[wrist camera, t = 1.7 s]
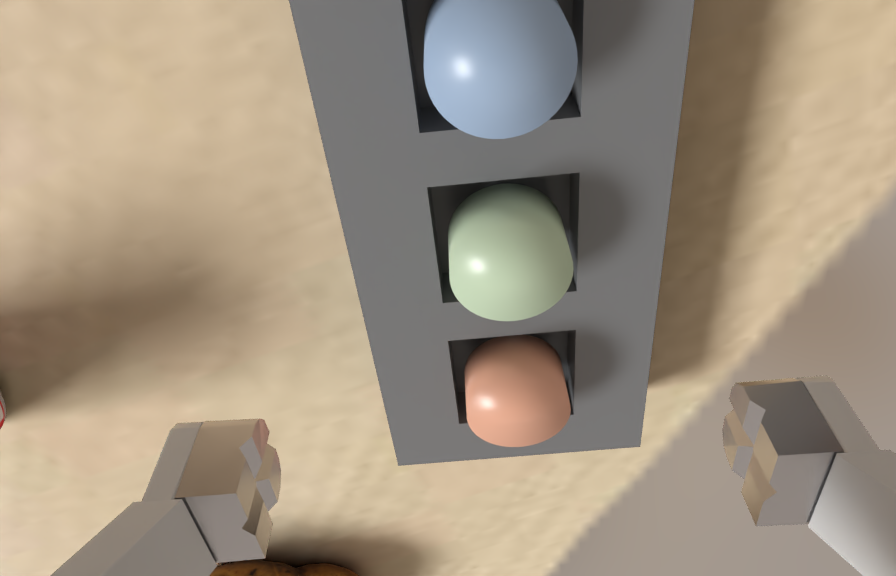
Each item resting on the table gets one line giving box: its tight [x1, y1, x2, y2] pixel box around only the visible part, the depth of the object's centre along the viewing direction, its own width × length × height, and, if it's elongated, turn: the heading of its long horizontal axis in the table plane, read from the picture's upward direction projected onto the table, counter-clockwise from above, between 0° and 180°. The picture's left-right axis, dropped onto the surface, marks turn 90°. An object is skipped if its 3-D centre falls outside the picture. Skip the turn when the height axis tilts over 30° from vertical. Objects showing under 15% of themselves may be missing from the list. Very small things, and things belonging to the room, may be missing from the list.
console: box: [289, 0, 694, 466], centre depth 27 cm, size 26×12×4 cm, turn 6°
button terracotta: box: [464, 335, 571, 447], centre depth 30 cm, size 4×4×3 cm
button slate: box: [424, 0, 578, 139], centre depth 21 cm, size 4×4×3 cm
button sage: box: [448, 183, 573, 321], centre depth 25 cm, size 4×4×3 cm
